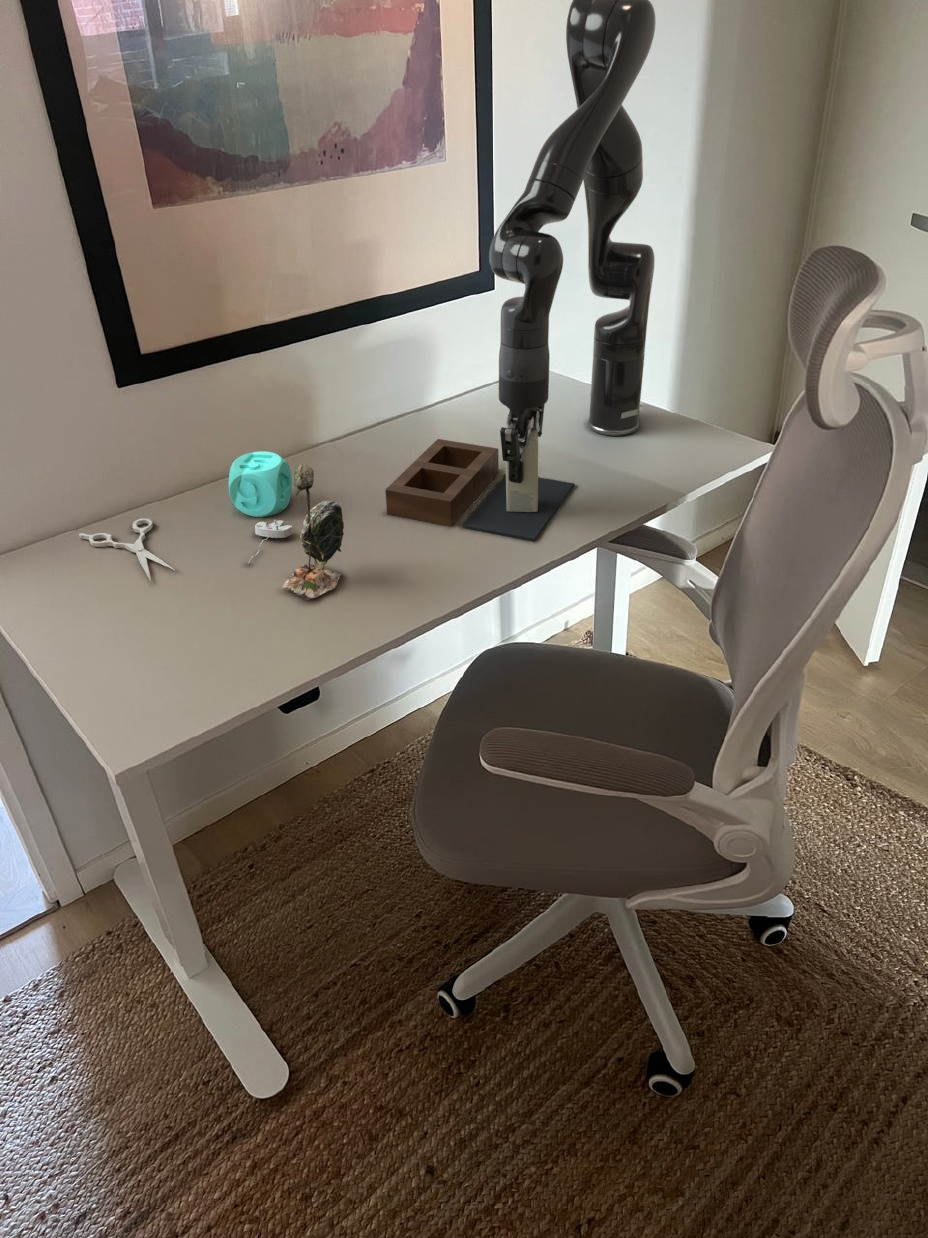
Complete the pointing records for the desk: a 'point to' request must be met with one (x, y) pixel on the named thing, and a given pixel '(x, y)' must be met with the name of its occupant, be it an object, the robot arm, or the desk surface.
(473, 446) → the rack
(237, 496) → the decorative dice
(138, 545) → the scissors
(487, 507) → the mat
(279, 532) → the game controller
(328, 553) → the plant with pod
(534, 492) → the box
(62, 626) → the desk surface
